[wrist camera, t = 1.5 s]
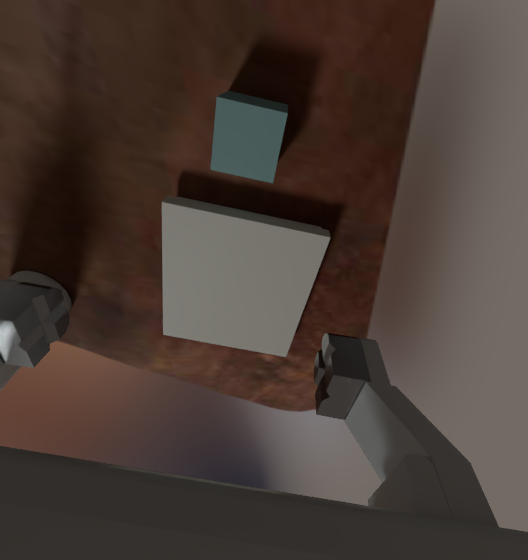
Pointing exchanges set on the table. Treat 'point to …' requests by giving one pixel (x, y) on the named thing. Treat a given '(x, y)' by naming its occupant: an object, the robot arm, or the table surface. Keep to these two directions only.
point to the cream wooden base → (236, 274)
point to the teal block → (247, 135)
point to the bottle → (7, 371)
